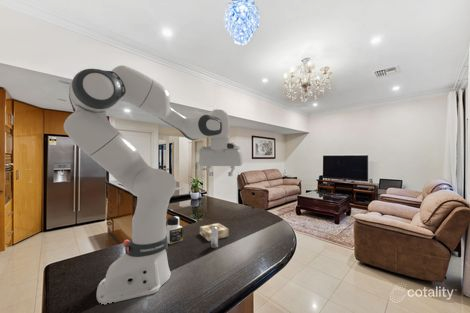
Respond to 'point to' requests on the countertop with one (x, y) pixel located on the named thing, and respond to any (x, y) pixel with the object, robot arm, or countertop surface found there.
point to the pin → (214, 237)
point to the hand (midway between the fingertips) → (220, 176)
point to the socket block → (206, 231)
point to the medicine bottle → (174, 230)
